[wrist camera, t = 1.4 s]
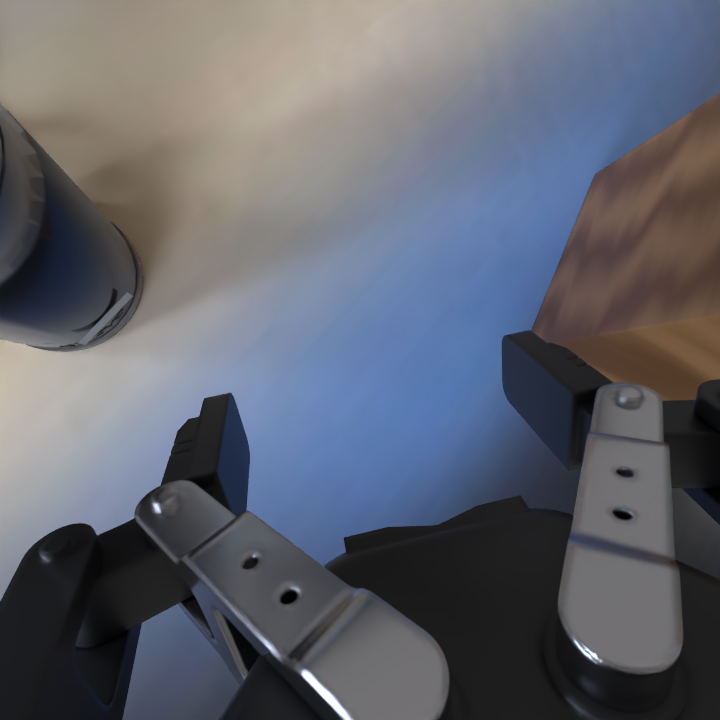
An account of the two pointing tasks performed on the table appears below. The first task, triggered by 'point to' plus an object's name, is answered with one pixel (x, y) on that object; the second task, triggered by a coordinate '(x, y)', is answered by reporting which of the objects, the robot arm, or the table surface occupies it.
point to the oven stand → (647, 264)
